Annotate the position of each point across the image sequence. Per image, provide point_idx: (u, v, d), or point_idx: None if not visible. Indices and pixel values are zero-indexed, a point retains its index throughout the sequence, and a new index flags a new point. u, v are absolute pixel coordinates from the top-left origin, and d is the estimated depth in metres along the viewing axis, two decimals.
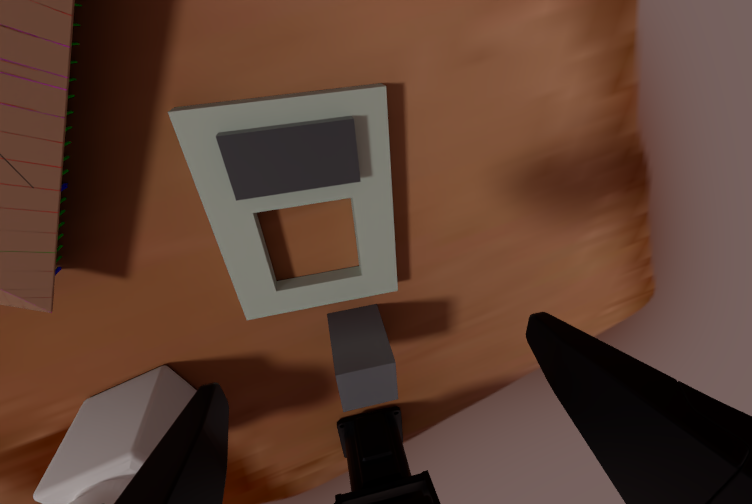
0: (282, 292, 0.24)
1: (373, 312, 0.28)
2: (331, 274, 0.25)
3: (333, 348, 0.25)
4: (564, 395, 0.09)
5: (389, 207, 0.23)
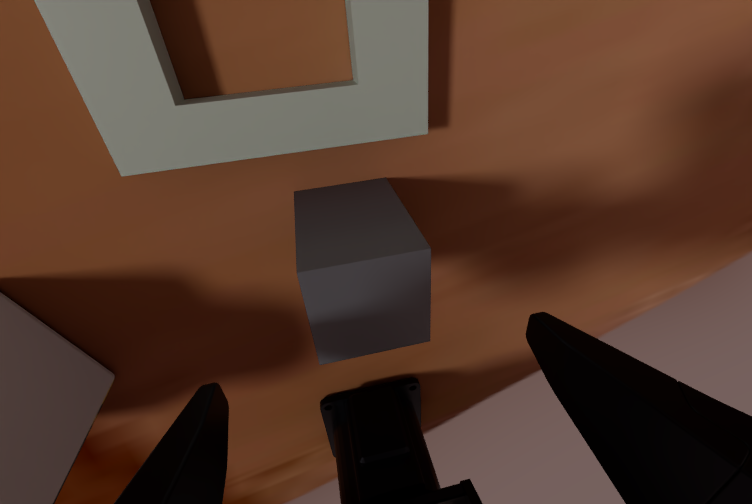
0: (190, 110, 0.12)
1: (380, 186, 0.15)
2: (296, 88, 0.13)
3: (298, 232, 0.12)
4: (564, 395, 0.09)
5: None
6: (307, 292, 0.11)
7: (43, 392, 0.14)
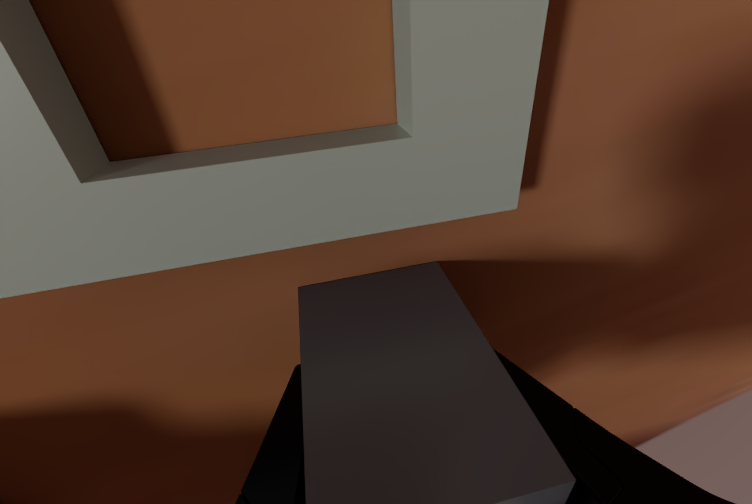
0: (111, 189, 0.06)
1: (432, 283, 0.09)
2: (303, 141, 0.07)
3: (308, 404, 0.07)
4: None
5: None
6: None
7: None
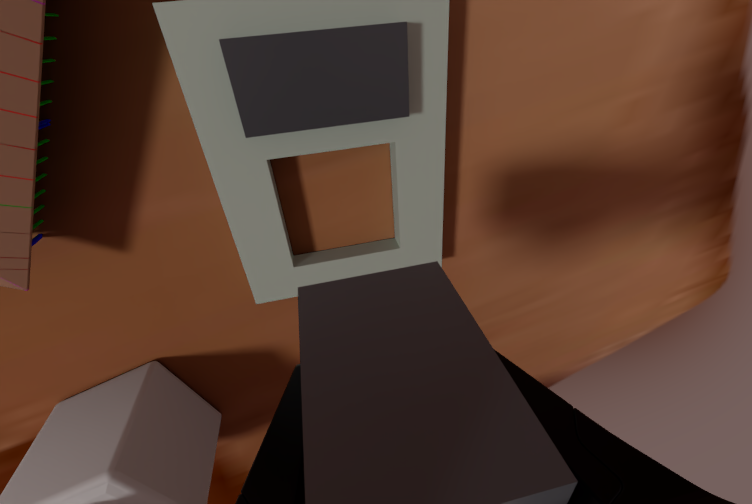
0: (301, 268, 0.19)
1: (433, 283, 0.09)
2: (361, 247, 0.20)
3: (308, 404, 0.07)
4: None
5: (440, 157, 0.18)
6: None
7: (192, 431, 0.22)
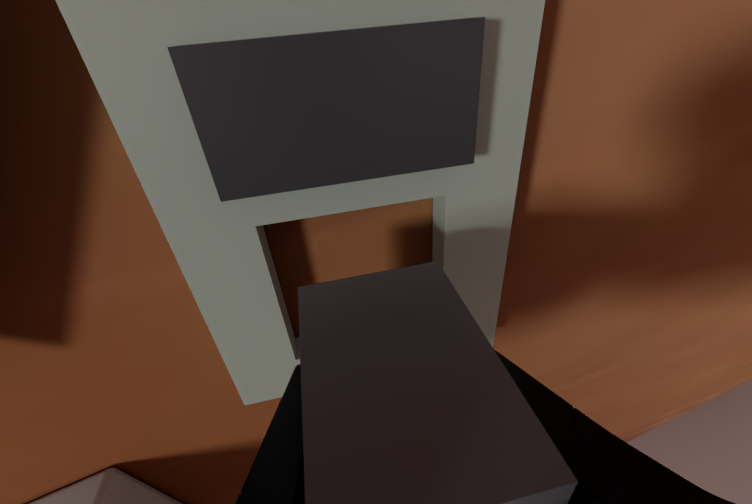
0: None
1: (433, 282, 0.09)
2: None
3: (308, 404, 0.07)
4: None
5: (507, 214, 0.12)
6: None
7: None
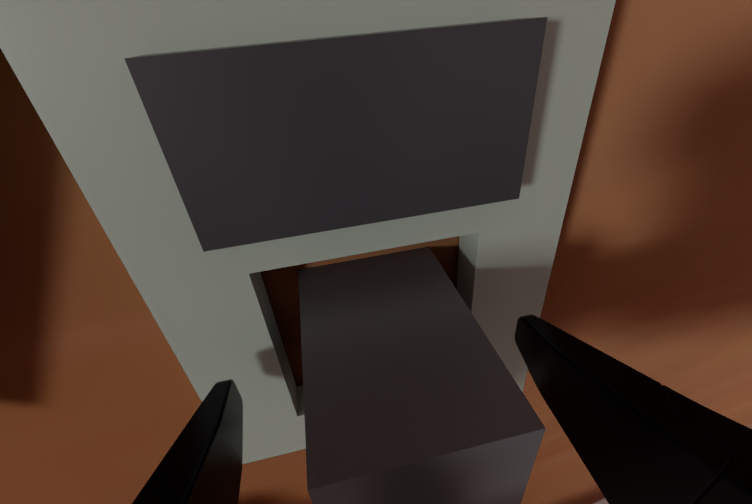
0: None
1: (424, 265, 0.10)
2: None
3: (308, 368, 0.07)
4: (551, 398, 0.09)
5: (548, 251, 0.10)
6: None
7: None
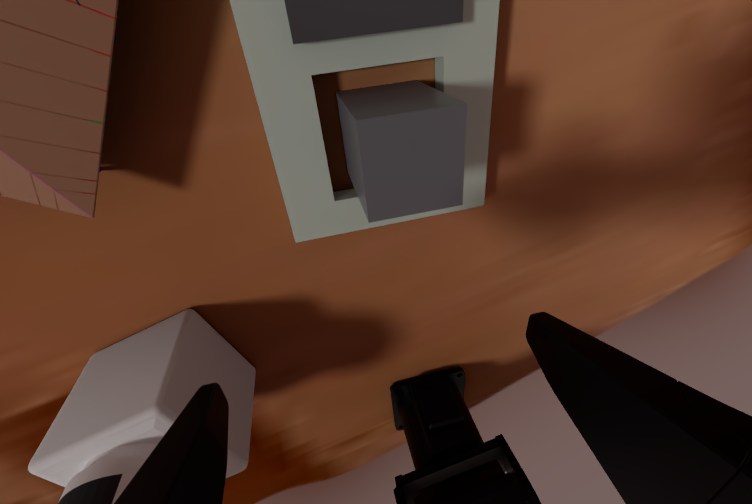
0: (343, 202, 0.19)
1: (412, 84, 0.17)
2: None
3: (349, 106, 0.14)
4: (564, 395, 0.09)
5: (489, 75, 0.17)
6: (363, 142, 0.13)
7: (230, 380, 0.22)
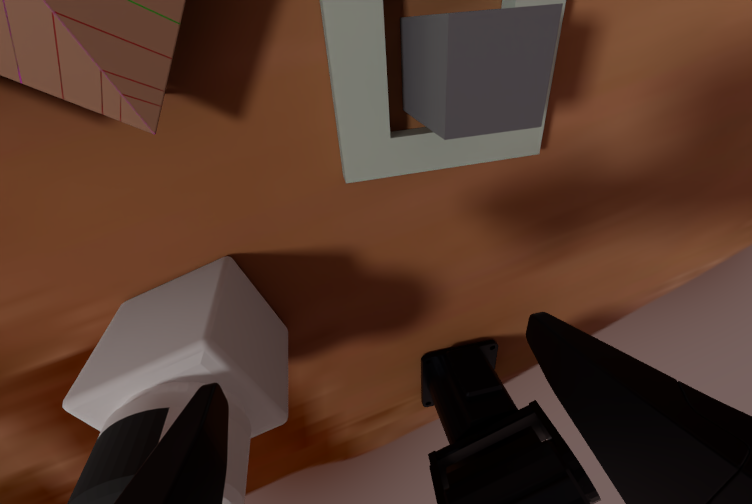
0: (398, 140, 0.18)
1: None
2: None
3: (428, 15, 0.13)
4: (564, 395, 0.09)
5: None
6: (452, 41, 0.12)
7: (267, 332, 0.21)
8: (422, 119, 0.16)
